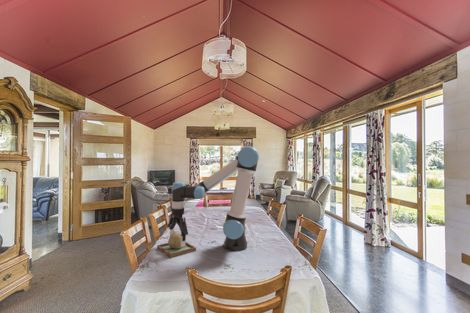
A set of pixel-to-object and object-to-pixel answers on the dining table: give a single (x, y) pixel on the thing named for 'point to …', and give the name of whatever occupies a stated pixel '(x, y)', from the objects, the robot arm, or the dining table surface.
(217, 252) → the dining table surface
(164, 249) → the base
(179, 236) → the coral
